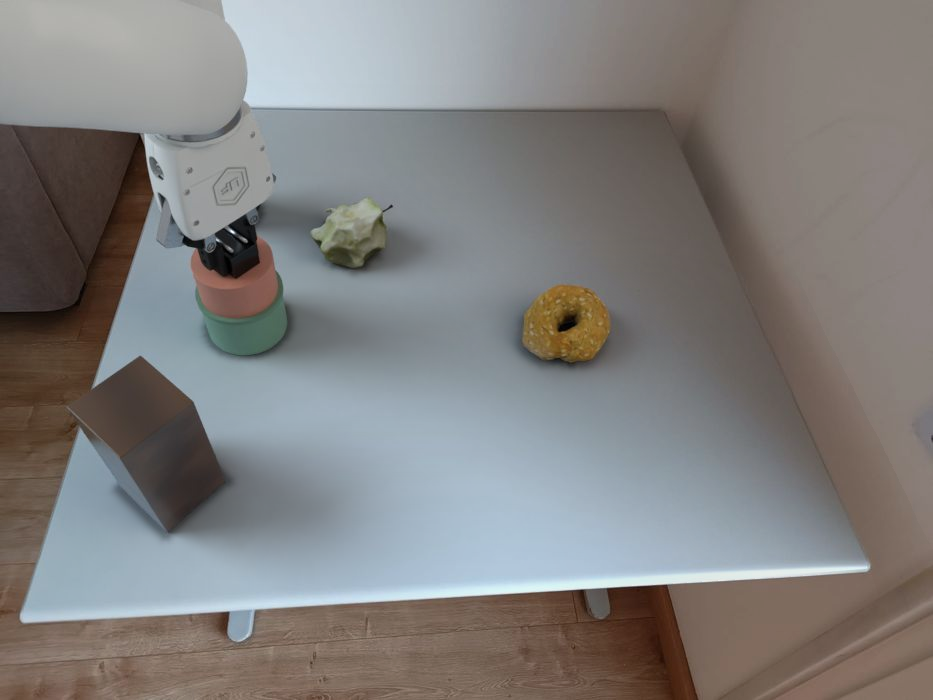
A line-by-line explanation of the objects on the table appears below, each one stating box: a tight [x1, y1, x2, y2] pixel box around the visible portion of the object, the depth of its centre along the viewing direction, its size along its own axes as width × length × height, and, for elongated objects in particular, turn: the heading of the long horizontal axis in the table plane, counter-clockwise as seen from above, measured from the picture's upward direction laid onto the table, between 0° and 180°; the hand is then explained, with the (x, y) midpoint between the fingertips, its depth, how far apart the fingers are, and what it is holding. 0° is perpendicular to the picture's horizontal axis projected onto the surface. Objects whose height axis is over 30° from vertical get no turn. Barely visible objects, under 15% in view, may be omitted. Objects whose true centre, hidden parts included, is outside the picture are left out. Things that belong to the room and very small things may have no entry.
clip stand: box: [66, 355, 227, 533], centre depth 64 cm, size 7×7×15 cm
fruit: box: [310, 197, 394, 269], centre depth 88 cm, size 9×9×8 cm
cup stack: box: [189, 235, 288, 356], centre depth 78 cm, size 9×9×11 cm
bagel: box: [521, 283, 611, 363], centre depth 84 cm, size 10×11×5 cm
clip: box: [215, 225, 260, 279], centre depth 72 cm, size 3×5×3 cm, turn 51°
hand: (231, 257), depth 73 cm, fingers closed on clip, 3 cm apart
